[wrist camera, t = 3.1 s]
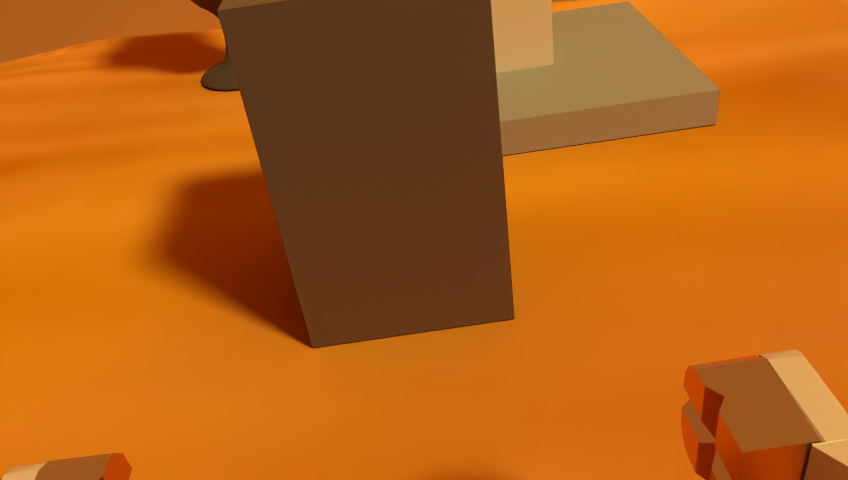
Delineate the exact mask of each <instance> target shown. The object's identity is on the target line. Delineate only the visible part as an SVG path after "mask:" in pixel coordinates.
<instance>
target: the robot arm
mask: <svg viewBox="0 0 848 480" xmlns="http://www.w3.org/2000/svg"><path fill="white" fill-rule="evenodd" d="M684 387H685V389H686V391H687V393H688V395H689V397H690V400H689V401H688V402H687V403H686V404H685V405H684V406H683V407H682V416H681V427H682V434H683V440H684V445H685V448H686V451H687V454H688V457H689V459H690V462H691V464H692V466H693V468H694V470H695V473H697V474H698V475H700V476H701V477H703V478H704V479H706V480H848V414H847V412H846V411H845V410H844V408H843V407H842V406H841V404H840V403H839V402H838V400H837V399H836V398H835V396H834V395H833V394H832V392H831V391H830V390H829V388H828V387H827V386H826V384H825V383H824V382H823V380H822V379H821V378H820V376H819V375H818V374H817V372H816V371H815V370H814V368H813V367H812V366H811V364H810V363H809V362H808V360H807V359H806V358H805V356H804V355H803V354H802V353H801V352H799V351H797V350H795V349H793V350H787V351H781V352H774V353H768V354H762V355H759V356H755V355H754V356H748V357H742V358H736V359H730V360H723V361H717V362H711V363H705V364H699V365H692V366H688V368H687V370H686V372H685V379H684ZM131 470H132V468H131V466H130V464H129V463H128V461H127V459H126V458H125V456H124V454H121V453H111V454H103V455H95V456H87V457H79V458H71V459H63V460H55V461H48V462H43V463H35V464H28V465H20V466H14V467H12V468H11V469H10V470H9V471H8V472H7V473H5V474H4V476H3V477H2V479H1V480H129V477H130V474H131Z"/></svg>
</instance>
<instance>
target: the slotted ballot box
mask: <svg viewBox="0 0 848 480" xmlns="http://www.w3.org/2000/svg"><path fill="white" fill-rule="evenodd" d="M217 12H218V15H219V19H220V22H221V26H222V29H223V33H224V36H225V40H226V43H227V47H228V51H229V54H230V58H231V61H232V65H233V68H234V72H235V75H236V79H237V82H238V86H239V90H240V93H241V97H242V100H243V104H244V107H245V111H246V114H247V118H248V121H249V125H250V128H251V132H252V136H253V139H254V143H255V146H256V150H257V153H258V157H259V160H260V164H261V167H262V171H263V174H264V178H265V182H266V185H267V189H268V192H269V196H270V199H271V203H272V206H273V210H274V213H275V217H276V220H277V224H278V228H279V231H280V235H281V238H282V242H283V245H284V249H285V252H286V256H287V259H288V263H289V266H290V270H291V274H292V277H293V281H294V284H295V288H296V291H297V295H298V298H299V302H300V305H301V309H302V312H303V316H304V320H305V323H306V327H307V330H308V334H309V337H310V341H311V344H312V348H315V347H322V346H329V345H336V344H343V343H350V342H357V341H364V340H371V339H377V338H384V337H391V336H398V335H405V334H412V333H419V332H426V331H433V330H440V329H446V328H453V327H460V326H467V325H474V324H481V323H488V322H495V321H502V320H509V319H514V306H513V292H512V279H511V265H510V252H509V238H508V225H507V212H506V198H505V185H504V171H503V158H502V144H501V131H500V117H499V104H498V91H497V77H496V64H495V50H494V37H493V23H492V10H491V0H223V1H222V3H221V5H220V6H219V8H218V10H217Z"/></svg>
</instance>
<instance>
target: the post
mask: <svg viewBox="0 0 848 480" xmlns="http://www.w3.org/2000/svg"><path fill="white" fill-rule="evenodd" d="M491 10H492V23H493V37H494V50H495V64H496V77H497V91H498V104H499V117H500V131H501V144H502V156H503V155H509V154H516V153H523V152H530V151H537V150H543V149H550V148H557V147H564V146H571V145H577V144H584V143H591V142H598V141H605V140H611V139H618V138H625V137H632V136H639V135H645V134H652V133H659V132H666V131H673V130H679V129H686V128H693V127H700V126H707V125H713V124H716V123H717V113H718V104H719V94H720V89H719V88H718V87H717V86H716V85H715V84H714V83H713V82H712V81H711V80H710V79H709V78H708V77H706V76H705V75H704V74H703V73H702V72H701V71H700V70H699V69H698V68H697V67H696V66H695V65H694V64H693V63H692V62H691V61H690V60H689V59H688V58H687V57H686V56H684V55H683V54H682V53H681V52H680V51H679V50H678V49H677V48H676V47H675V46H674V45H673V44H672V43H671V42H670V41H669V40H668V39H667V38H666V37H665V36H664V35H662V34H661V33H660V32H659V31H658V30H657V29H656V28H655V27H654V26H653V25H652V24H651V23H650V22H649V21H648V20H647V19H646V18H645V17H644V16H643V15H642V14H640V13H639V12H638V11H637V10H636V9H635V8H634V7H633V6H632V5H631V4H630V3H629V2H621V3H615V4H608V5H601V6H594V7H588V8H581V9H574V10H567V11H561V12H554V13H552V0H491Z"/></svg>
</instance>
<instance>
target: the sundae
mask: <svg viewBox="0 0 848 480" xmlns="http://www.w3.org/2000/svg"><path fill="white" fill-rule="evenodd" d="M191 1H193V2H194V3H195V4H197V5H198V6H199V7H201V8H203V9H205V10H208V11H210V12H211V13H213V14H214V15H216V16H217V17H218V18H219V15H218V12H217V10H218V8H219V6H220V5H221V3H222V1H223V0H191ZM220 23H221V22H220ZM224 37H225V36H224ZM225 43H226V40H225ZM201 83H202V84H203V85H204V86H205V87H207V88H209V89H212V90H219V91H231V90H239V86H238V82H237V79H236V75H235V72H234V68H233V65H232V61H231V58H230V54H229V51H228V47H227V43H226V55H225V59H224V61H223V62H222V63H219V64H217V65H215V66H213V67H211V68H210V69H209V70H207V71H206V72H205V74H204V75H203V77H202V78H201Z"/></svg>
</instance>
